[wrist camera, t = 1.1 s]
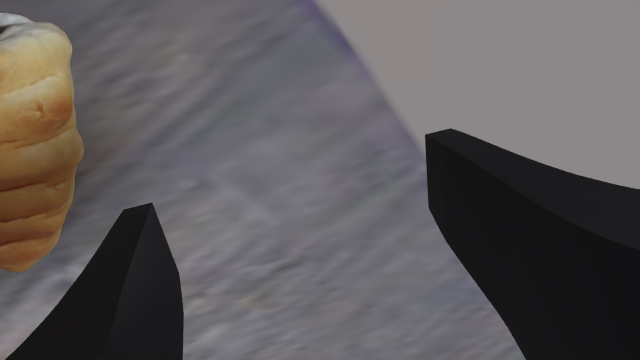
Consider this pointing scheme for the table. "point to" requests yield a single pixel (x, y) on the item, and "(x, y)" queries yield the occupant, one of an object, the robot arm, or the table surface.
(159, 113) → the table surface
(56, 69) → the pastry
